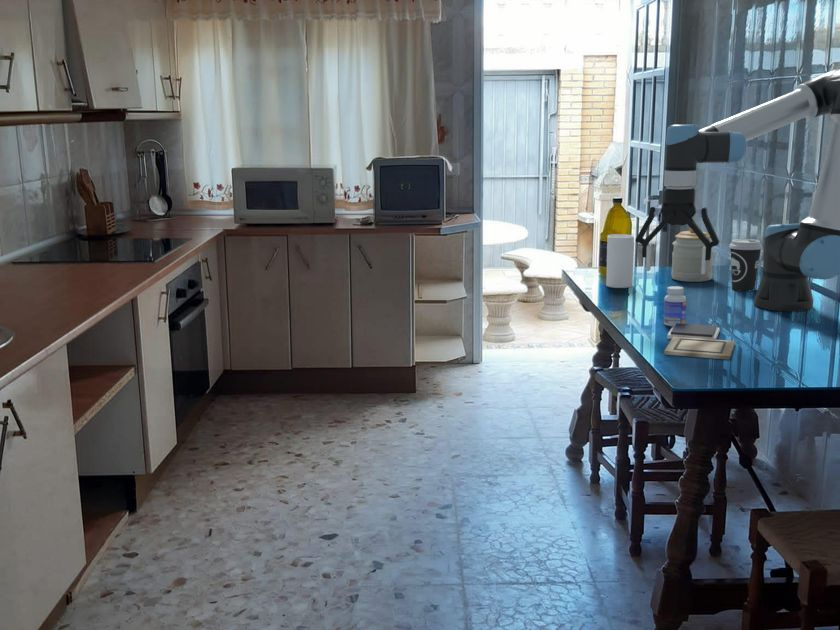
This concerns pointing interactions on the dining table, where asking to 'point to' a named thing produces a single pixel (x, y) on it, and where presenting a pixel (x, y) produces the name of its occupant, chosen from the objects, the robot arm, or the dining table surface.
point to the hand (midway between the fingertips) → (675, 271)
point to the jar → (690, 258)
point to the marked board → (700, 347)
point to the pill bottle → (674, 306)
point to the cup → (620, 260)
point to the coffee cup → (744, 263)
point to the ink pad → (693, 331)
